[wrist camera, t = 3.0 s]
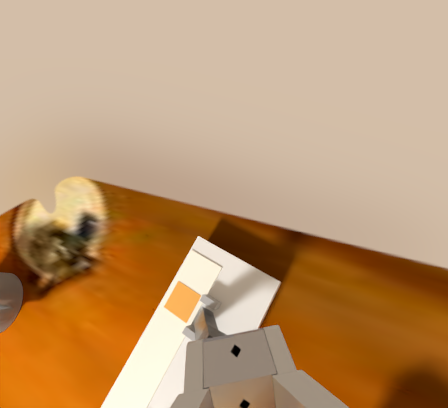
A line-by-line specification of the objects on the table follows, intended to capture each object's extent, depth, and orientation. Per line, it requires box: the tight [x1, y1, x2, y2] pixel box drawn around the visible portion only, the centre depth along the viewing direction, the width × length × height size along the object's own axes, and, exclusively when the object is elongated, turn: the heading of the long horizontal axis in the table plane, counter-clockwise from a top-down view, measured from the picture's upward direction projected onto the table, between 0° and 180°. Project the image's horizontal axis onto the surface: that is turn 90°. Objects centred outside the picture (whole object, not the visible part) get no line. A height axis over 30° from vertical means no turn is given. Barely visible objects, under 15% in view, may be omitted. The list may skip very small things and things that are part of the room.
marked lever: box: [194, 307, 226, 341], centre depth 24 cm, size 3×4×11 cm
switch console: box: [101, 236, 281, 408], centre depth 30 cm, size 12×30×6 cm, turn 150°
